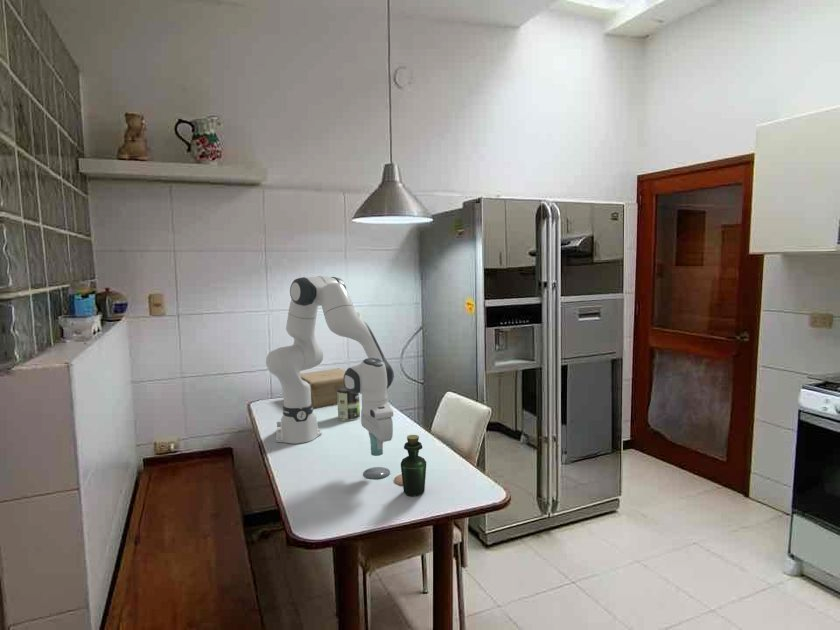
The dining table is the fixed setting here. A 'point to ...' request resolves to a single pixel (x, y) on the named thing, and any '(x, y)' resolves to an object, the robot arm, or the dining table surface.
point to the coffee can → (347, 405)
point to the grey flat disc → (376, 472)
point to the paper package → (324, 386)
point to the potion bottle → (413, 468)
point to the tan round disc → (398, 480)
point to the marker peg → (373, 446)
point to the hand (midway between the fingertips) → (376, 446)
